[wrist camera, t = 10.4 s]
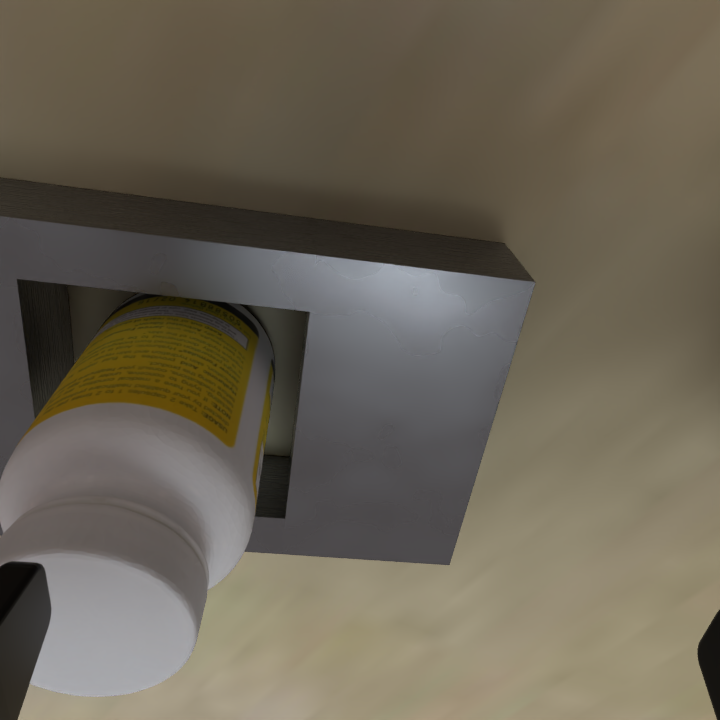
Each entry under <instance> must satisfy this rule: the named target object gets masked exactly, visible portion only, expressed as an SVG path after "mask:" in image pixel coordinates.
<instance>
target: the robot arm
mask: <svg viewBox="0 0 720 720" xmlns="http://www.w3.org/2000/svg"><path fill="white" fill-rule="evenodd" d="M51 609H52V608H51V600H50V595H49V589H48V583H47V577H46V572H45V568H44V567H43V565H42V564H40V563H36V562H20V561H10V562H7V563H5V564H3V565H1V566H0V720H17V719H18V716H19V713H20V710H21V708H22V705H23V702H24V699H25V696H26V693H27V690H28V687H29V684H30V681H31V678H32V675H33V672H34V669H35V666H36V663H37V660H38V657H39V654H40V651H41V648H42V645H43V642H44V639H45V636H46V633H47V630H48V627H49V624H50V619H51ZM698 661H699V665H700V668H701V671H702V674H703V677H704V680H705V684H706V687H707V690H708V693H709V696H710V699H711V702H712V705H713V708H714V711H715V715H716V718H717V720H720V610H719V611H718V612H717V614H716V615H715V617H714V619H713V620H712V622H711V624H710V625H709V627H708V629H707V630H706V632H705V634H704V635H703V637H702V639H701V640H700V642H699V645H698Z"/></svg>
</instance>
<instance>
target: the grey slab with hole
mask: <svg viewBox="0 0 720 720" xmlns="http://www.w3.org/2000/svg"><path fill="white" fill-rule="evenodd" d="M67 285H76V286H85V287H94V288H103V289H112V290H121V291H130V292H139V293H147V294H156V295H165V296H174V297H183V298H192V299H201V300H210V301H219V302H228V303H236V304H245V305H254V306H263V307H272V308H281V309H290V310H299V311H307V315H306V323H305V332H304V340H303V349H302V358H301V366H300V375H299V383H298V392H297V401H296V409H295V418H294V426H293V435H292V444H291V452H290V457H279V456H268V455H263V462H262V469H261V475H260V482H259V489H258V496H257V503H256V511H255V517H254V522H253V527H252V532H251V535H250V539H249V542H248V544H247V547H246V549H245V551H244V552H259V553H274V554H289V555H304V556H319V557H335V558H350V559H365V560H380V561H395V562H410V563H425V564H440V565H450V561H451V558H452V555H453V551H454V548H455V545H456V542H457V538H458V535H459V532H460V528H461V525H462V522H463V519H464V515H465V512H466V509H467V505H468V502H469V499H470V496H471V492H472V489H473V486H474V482H475V479H476V476H477V473H478V469H479V466H480V463H481V460H482V456H483V453H484V450H485V446H486V443H487V440H488V437H489V433H490V430H491V427H492V423H493V420H494V417H495V414H496V410H497V407H498V404H499V400H500V397H501V394H502V391H503V387H504V384H505V381H506V377H507V374H508V371H509V368H510V364H511V361H512V358H513V355H514V351H515V348H516V345H517V341H518V338H519V335H520V332H521V328H522V325H523V322H524V318H525V315H526V312H527V309H528V305H529V302H530V299H531V295H532V292H533V289H534V286H535V281H534V280H533V278H532V277H531V276H530V275H529V273H528V272H527V271H526V270H525V268H524V267H523V266H522V265H521V263H520V262H519V261H518V260H517V258H516V257H515V256H514V254H513V253H512V252H511V251H510V249H509V248H508V247H507V246H506V244H505V243H497V242H490V241H482V240H474V239H466V238H459V237H451V236H443V235H436V234H428V233H420V232H413V231H405V230H397V229H390V228H382V227H374V226H367V225H359V224H351V223H344V222H336V221H328V220H320V219H313V218H305V217H297V216H290V215H282V214H274V213H267V212H259V211H251V210H244V209H236V208H228V207H221V206H213V205H205V204H197V203H190V202H182V201H174V200H167V199H159V198H151V197H144V196H136V195H128V194H121V193H113V192H105V191H98V190H90V189H82V188H75V187H67V186H59V185H51V184H44V183H36V182H28V181H21V180H13V179H5V178H0V480H1V477H2V474H3V471H4V469H5V466H6V464H7V462H8V461H9V459H10V457H11V455H12V454H13V452H14V450H15V448H16V446H17V445H18V443H19V442H20V440H21V439H22V437H23V436H24V435H25V433H26V432H27V430H28V429H29V427H30V426H31V424H32V423H33V422H34V420H35V419H36V417H37V416H38V415H39V413H40V412H41V410H42V409H43V407H44V406H45V405H46V403H47V402H48V401H49V399H50V398H51V396H52V395H53V394H54V392H55V391H56V389H57V388H58V387H59V385H60V384H61V382H62V381H63V379H64V378H65V377H66V375H67V374H68V372H69V371H70V370H71V368H72V367H73V366H74V357H73V346H72V334H71V323H70V311H69V300H68V289H67ZM2 534H3V530H2V527H1V524H0V535H1V536H2Z"/></svg>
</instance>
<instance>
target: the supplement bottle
mask: <svg viewBox="0 0 720 720" xmlns="http://www.w3.org/2000/svg"><path fill="white" fill-rule="evenodd" d="M274 380H275V359H274V353H273V350H272V346H271V343H270V341H269V338H268V337H267V335H266V333H265V331H264V329H263V328H262V327H261V325H260V324H259V322H258V321H257V320H256V319H255V317H254V316H253V315H252V314H251V313H250V312H249V311H247V310H246V309H245V308H244V307H243V306H241V305H240V304H236V303H228V302H219V301H210V300H201V299H192V298H183V297H174V296H165V295H156V294H147V293H139V294H137V295H135V296H133V297H131V298H129V299H128V300H126V301H125V302H124V303H123V304H121V305H120V306H119V307H118V308H117V309H116V310H115V311H114V312H113V313H112V314H111V315H110V316H109V317H108V318H107V320H106V321H105V322H104V323H103V325H102V326H101V328H100V329H99V330H98V332H97V333H96V335H95V336H94V338H93V339H92V340H91V342H90V343H89V345H88V346H87V348H86V349H85V350H84V352H83V353H82V355H81V356H80V357H79V359H78V360H77V361H76V363H75V364H74V366H73V367H72V368H71V370H70V371H69V372H68V374H67V375H66V377H65V378H64V379H63V381H62V382H61V384H60V385H59V387H58V388H57V389H56V391H55V392H54V394H53V395H52V396H51V398H50V399H49V401H48V402H47V403H46V405H45V406H44V407H43V409H42V410H41V412H40V413H39V415H38V416H37V417H36V419H35V420H34V422H33V423H32V424H31V426H30V427H29V429H28V430H27V432H26V433H25V435H24V436H23V437H22V439H21V440H20V442H19V443H18V445H17V446H16V448H15V450H14V452H13V454H12V455H11V457H10V459H9V461H8V462H7V464H6V466H5V469H4V471H3V474H2V477H1V480H0V524H1V527H2V530H3V534H2V536H1V537H0V566H1V565H3V564H5V563H7V562H10V561H20V562H36V563H40V564H42V565H43V567H44V568H45V572H46V577H47V583H48V589H49V595H50V600H51V608H52V609H51V619H50V624H49V627H48V630H47V633H46V636H45V639H44V642H43V645H42V648H41V651H40V654H39V657H38V660H37V663H36V666H35V669H34V672H33V675H32V678H31V681H30V684H32V685H34V686H37V687H40V688H44V689H47V690H51V691H54V692H58V693H64V694H70V695H75V696H90V697H103V696H117V695H124V694H130V693H134V692H138V691H141V690H144V689H147V688H150V687H153V686H155V685H157V684H159V683H161V682H163V681H164V680H166V679H168V678H169V677H171V676H172V675H173V674H175V673H176V672H177V671H178V670H179V669H180V668H181V667H182V666H183V665H184V664H185V663H186V661H187V660H188V659H189V657H190V655H191V653H192V651H193V649H194V647H195V644H196V641H197V637H198V632H199V628H200V624H201V620H202V615H203V611H204V607H205V603H206V598H207V591H208V590H209V589H210V588H212V587H213V586H215V585H216V584H217V583H219V582H220V581H221V580H222V579H224V578H225V577H226V576H227V575H228V574H229V573H230V571H231V570H232V569H233V568H234V567H235V566H236V564H237V563H238V561H239V560H240V558H241V557H242V555H243V553H244V551H245V549H246V547H247V544H248V542H249V539H250V535H251V532H252V527H253V522H254V517H255V511H256V503H257V496H258V489H259V482H260V475H261V469H262V462H263V455H264V449H265V443H266V436H267V429H268V423H269V417H270V410H271V404H272V397H273V388H274Z"/></svg>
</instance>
